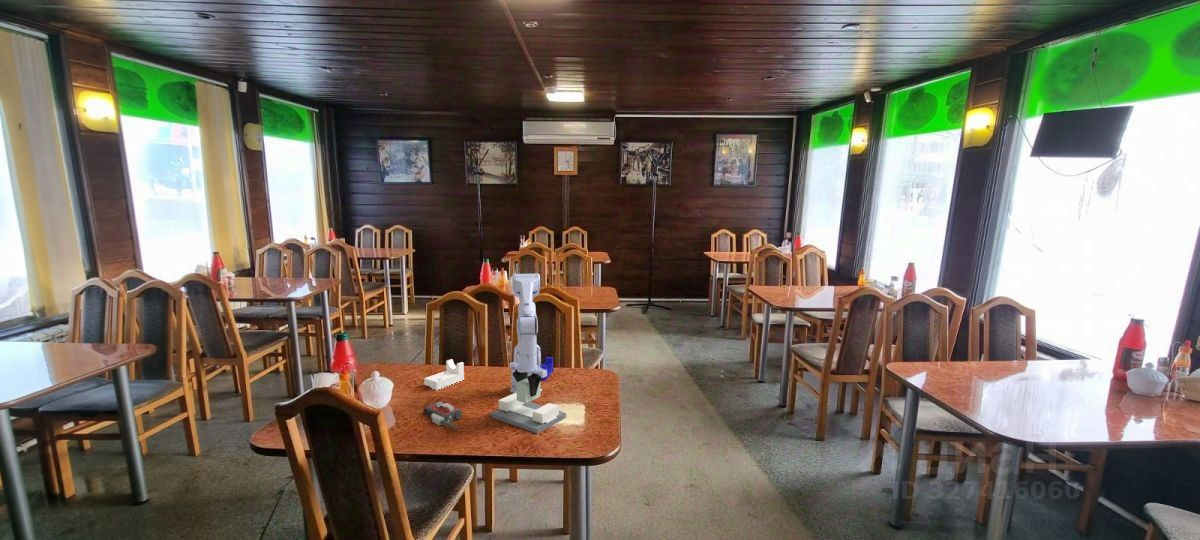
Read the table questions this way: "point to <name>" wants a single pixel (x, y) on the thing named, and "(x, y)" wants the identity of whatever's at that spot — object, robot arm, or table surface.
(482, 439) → the table surface
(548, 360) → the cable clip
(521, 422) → the mounting plate
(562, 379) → the table surface
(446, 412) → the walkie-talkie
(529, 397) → the module block
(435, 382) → the bracket
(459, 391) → the table surface
